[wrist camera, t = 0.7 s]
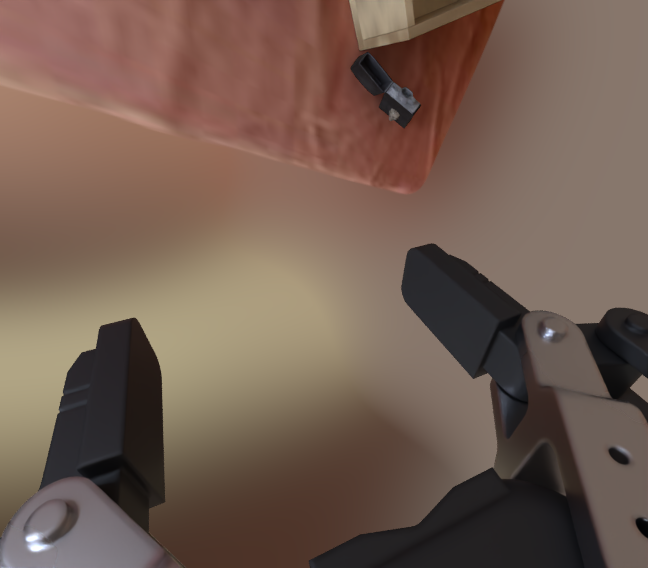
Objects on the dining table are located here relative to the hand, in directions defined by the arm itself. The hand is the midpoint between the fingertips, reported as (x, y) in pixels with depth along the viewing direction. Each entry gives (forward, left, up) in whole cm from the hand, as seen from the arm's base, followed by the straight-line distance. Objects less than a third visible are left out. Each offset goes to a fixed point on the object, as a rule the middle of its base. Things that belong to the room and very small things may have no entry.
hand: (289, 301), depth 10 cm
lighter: (+1, +21, -28) cm, 35 cm away
